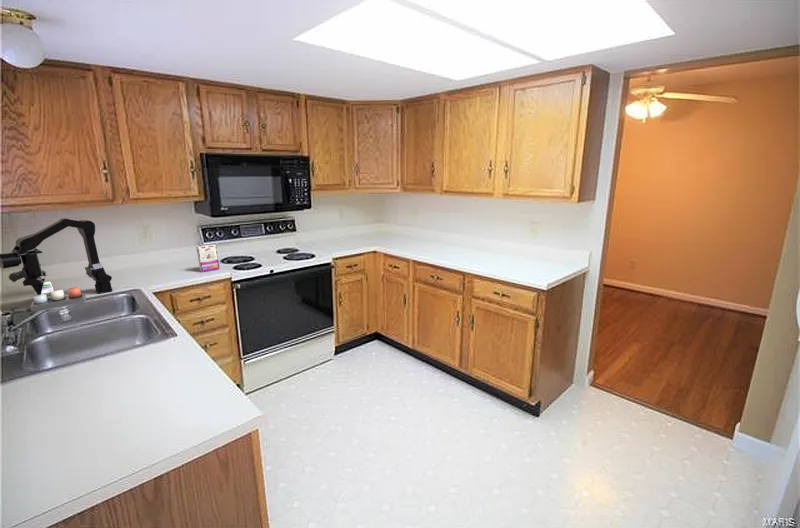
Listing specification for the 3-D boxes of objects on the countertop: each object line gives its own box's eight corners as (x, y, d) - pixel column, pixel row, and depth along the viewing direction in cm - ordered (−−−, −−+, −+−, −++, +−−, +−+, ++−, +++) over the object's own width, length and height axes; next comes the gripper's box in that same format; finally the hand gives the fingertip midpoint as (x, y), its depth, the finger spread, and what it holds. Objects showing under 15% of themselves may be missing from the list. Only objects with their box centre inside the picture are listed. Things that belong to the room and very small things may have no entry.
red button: (81, 293, 195) (79, 286, 194) (81, 296, 191) (79, 288, 190) (70, 295, 192) (68, 288, 191) (69, 298, 189) (67, 290, 188)
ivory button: (65, 296, 191) (63, 289, 190) (64, 299, 188) (62, 291, 187) (53, 298, 189) (51, 290, 188) (52, 301, 185) (50, 293, 184)
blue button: (48, 301, 188) (46, 293, 187) (47, 303, 184) (45, 295, 183) (36, 303, 185) (33, 295, 184) (34, 305, 181) (32, 297, 180)
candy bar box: (217, 267, 254) (214, 244, 250) (219, 269, 251) (216, 245, 246) (199, 271, 247) (195, 246, 243) (201, 272, 243) (197, 247, 239)
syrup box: (48, 287, 199) (50, 280, 189) (51, 297, 199) (54, 291, 189) (33, 290, 194) (35, 283, 185) (37, 301, 194) (39, 294, 185)
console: (86, 297, 198) (85, 292, 198) (85, 302, 191) (83, 297, 190) (34, 305, 187) (33, 300, 186) (31, 311, 179) (29, 306, 179)
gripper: (11, 262, 182) (20, 293, 186) (3, 270, 168) (12, 303, 172) (42, 259, 189) (50, 288, 193) (37, 266, 174) (45, 298, 178)
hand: (39, 294), depth 183 cm, fingers closed
